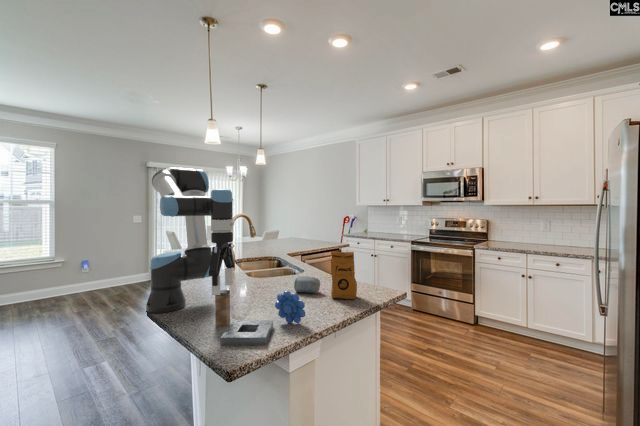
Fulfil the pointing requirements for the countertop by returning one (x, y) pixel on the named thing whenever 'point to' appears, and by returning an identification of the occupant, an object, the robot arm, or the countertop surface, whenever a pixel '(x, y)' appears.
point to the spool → (307, 284)
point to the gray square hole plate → (247, 333)
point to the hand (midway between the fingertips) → (222, 289)
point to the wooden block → (222, 308)
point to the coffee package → (343, 276)
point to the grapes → (290, 307)
